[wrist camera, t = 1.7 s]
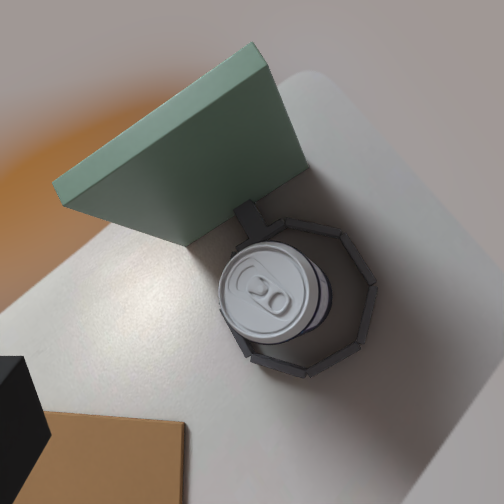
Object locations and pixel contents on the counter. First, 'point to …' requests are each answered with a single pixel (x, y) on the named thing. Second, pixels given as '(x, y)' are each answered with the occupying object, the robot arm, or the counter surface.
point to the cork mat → (107, 462)
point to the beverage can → (273, 293)
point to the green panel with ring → (207, 173)
